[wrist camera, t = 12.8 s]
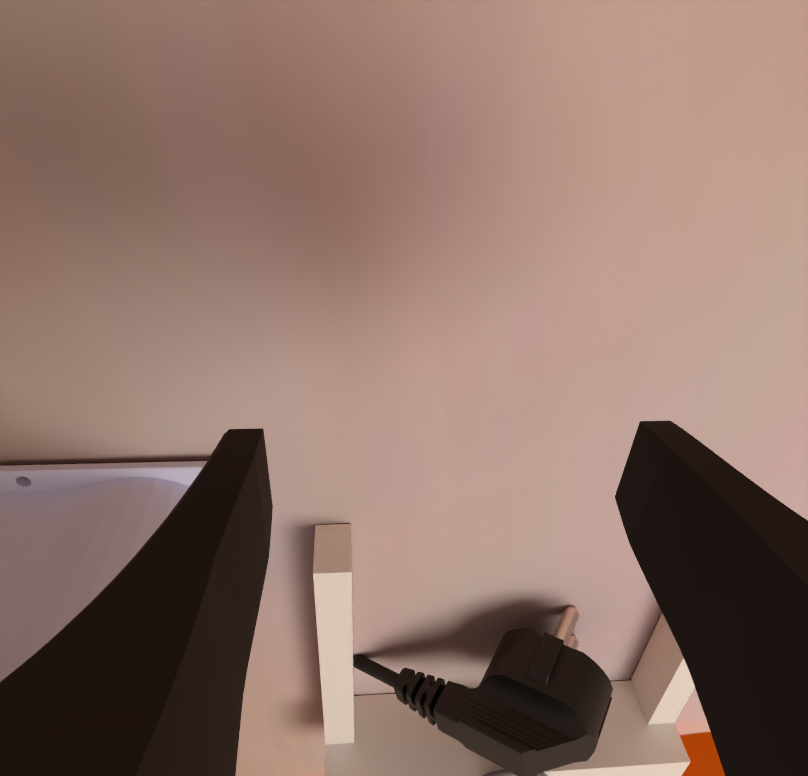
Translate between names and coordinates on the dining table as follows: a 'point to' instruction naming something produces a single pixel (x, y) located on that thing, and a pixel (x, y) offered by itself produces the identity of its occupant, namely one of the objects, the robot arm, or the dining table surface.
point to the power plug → (517, 701)
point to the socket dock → (445, 756)
